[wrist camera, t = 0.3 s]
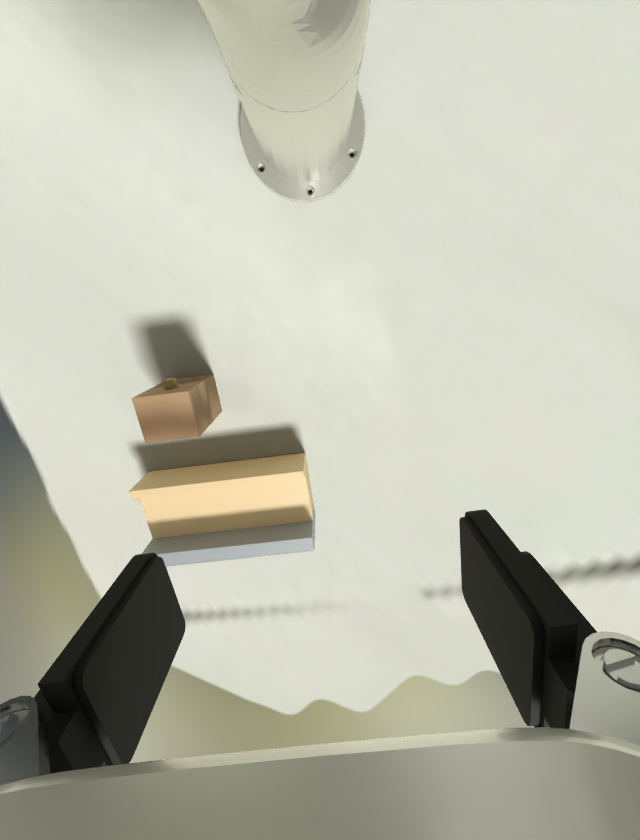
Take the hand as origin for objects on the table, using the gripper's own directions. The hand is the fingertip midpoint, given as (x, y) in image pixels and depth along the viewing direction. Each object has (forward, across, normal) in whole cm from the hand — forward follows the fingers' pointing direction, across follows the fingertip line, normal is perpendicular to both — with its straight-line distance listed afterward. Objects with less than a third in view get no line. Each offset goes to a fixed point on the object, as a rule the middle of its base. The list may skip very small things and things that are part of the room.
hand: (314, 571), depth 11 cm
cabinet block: (+35, +16, +1) cm, 39 cm away
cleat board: (+35, +15, +16) cm, 42 cm away
